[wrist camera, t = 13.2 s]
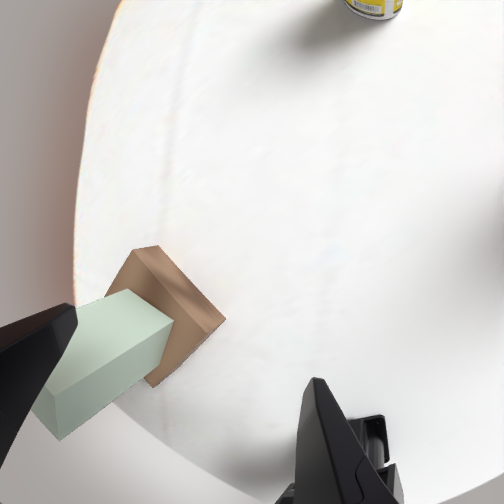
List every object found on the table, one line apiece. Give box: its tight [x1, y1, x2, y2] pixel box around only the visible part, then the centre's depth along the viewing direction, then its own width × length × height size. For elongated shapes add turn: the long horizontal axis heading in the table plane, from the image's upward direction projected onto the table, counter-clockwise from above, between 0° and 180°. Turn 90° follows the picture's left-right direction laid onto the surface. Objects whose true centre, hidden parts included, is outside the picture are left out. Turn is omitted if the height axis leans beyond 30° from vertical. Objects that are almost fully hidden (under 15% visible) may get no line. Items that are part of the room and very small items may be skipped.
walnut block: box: [104, 246, 226, 388], centre depth 25 cm, size 9×9×4 cm
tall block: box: [30, 288, 174, 441], centre depth 18 cm, size 5×5×12 cm
